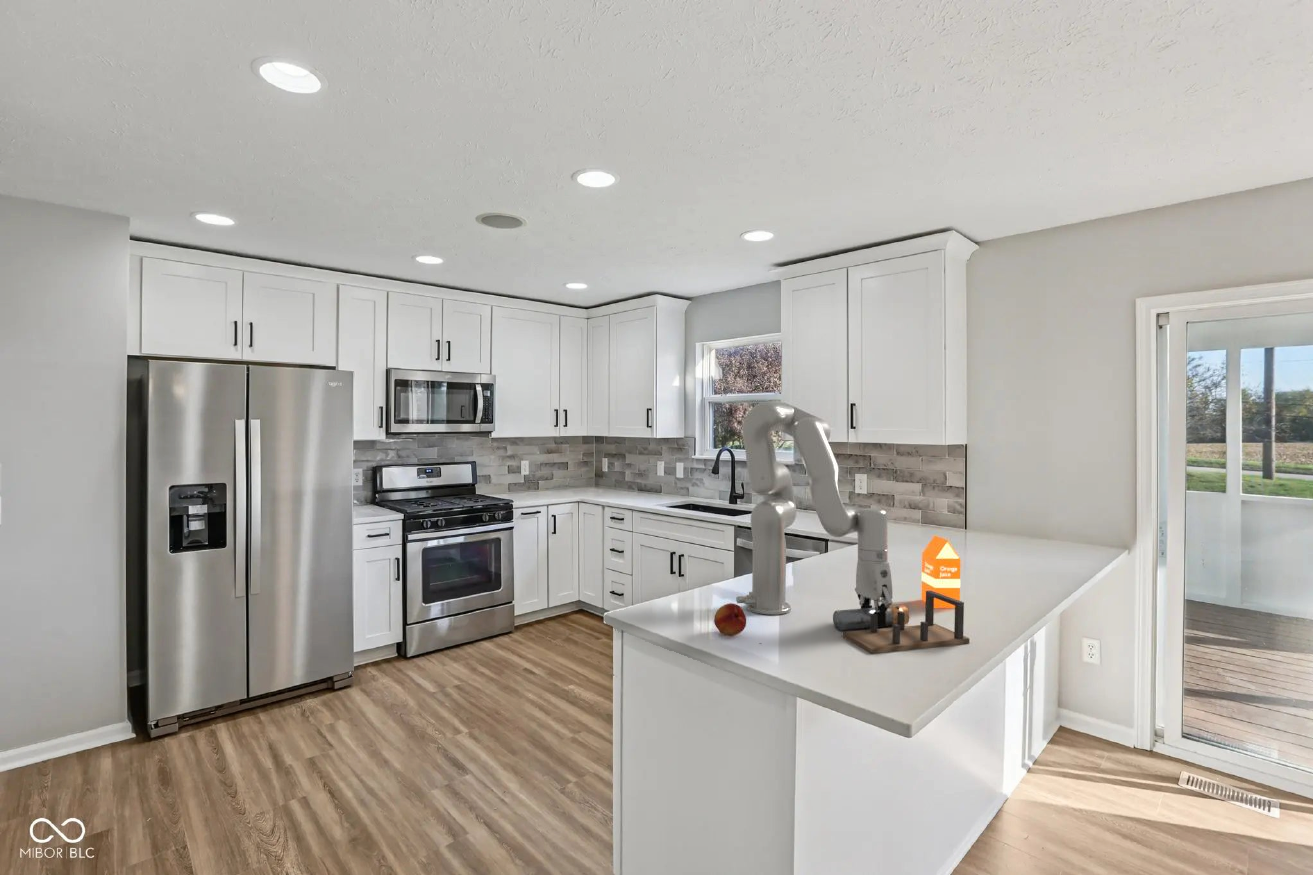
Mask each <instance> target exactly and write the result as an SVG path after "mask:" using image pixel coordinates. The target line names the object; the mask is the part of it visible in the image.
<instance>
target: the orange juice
mask: <svg viewBox="0 0 1313 875" xmlns="http://www.w3.org/2000/svg"><path fill="white" fill-rule="evenodd" d="M921 556H922V557H921V595H920V597H921V601H923V602H925V603H926V591H929V590H931V591H934V592H937V593H939V594H942V595H945V596H948V597H950V598H953V599H956V600H959V601H961V564H962V563H961V562H962V561H961V558H960V556H959V555H958V553H957V552H956V550H955V549H954V547H953V546H952V544H951V543H950V541H949V539H946V538H943V537H941V536H938V535H936V534H934V535H933V537H932V538H931V540H930V541H929V542H928V544H927V545H926V547H925V548H924V550H922V552H921ZM934 609H955V605H952V604H949V603H947V602H944V601H941V600H939V599H936V598H934Z"/></svg>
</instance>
